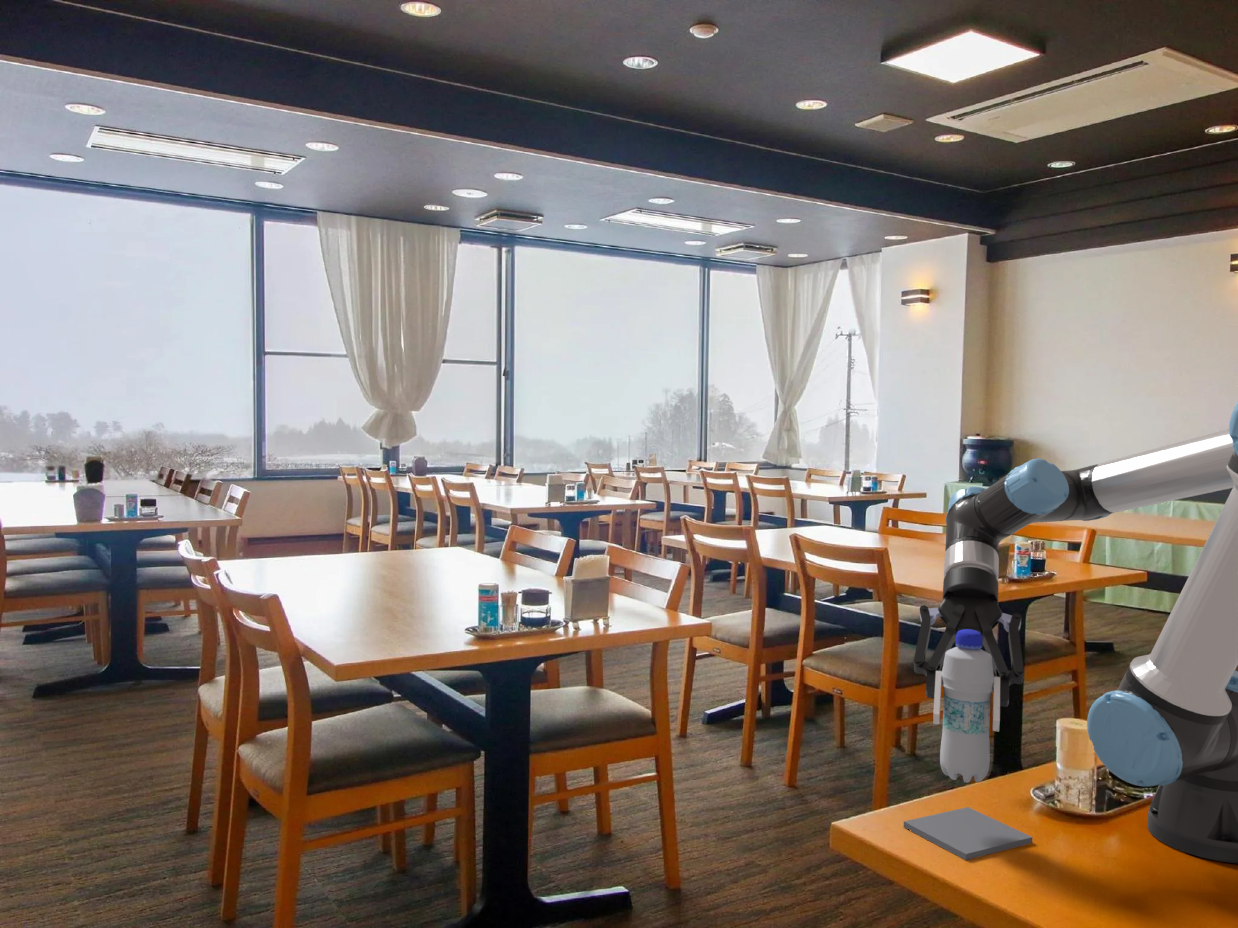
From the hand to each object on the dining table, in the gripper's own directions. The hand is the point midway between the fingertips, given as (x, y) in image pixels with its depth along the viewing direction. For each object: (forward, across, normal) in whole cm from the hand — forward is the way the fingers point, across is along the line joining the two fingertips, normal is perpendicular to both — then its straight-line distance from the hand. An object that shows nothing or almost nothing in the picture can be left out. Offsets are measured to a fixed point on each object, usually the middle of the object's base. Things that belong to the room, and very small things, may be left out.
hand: (966, 722), depth 126 cm
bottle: (+4, 0, -9) cm, 9 cm away
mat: (+9, -1, -14) cm, 16 cm away
